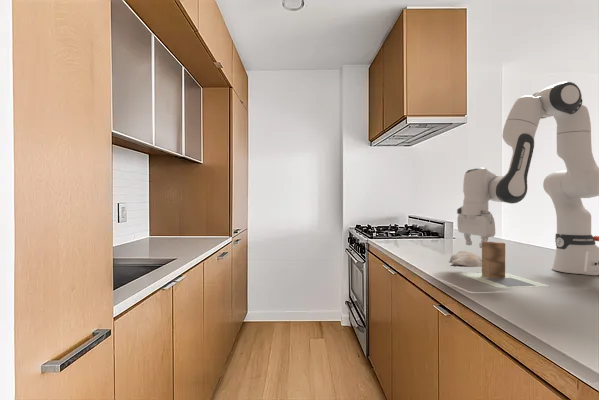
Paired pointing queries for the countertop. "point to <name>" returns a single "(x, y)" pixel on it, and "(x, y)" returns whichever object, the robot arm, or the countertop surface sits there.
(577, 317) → the countertop surface
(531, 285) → the sage mat
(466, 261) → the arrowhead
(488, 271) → the walnut block
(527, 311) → the countertop surface
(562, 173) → the robot arm
